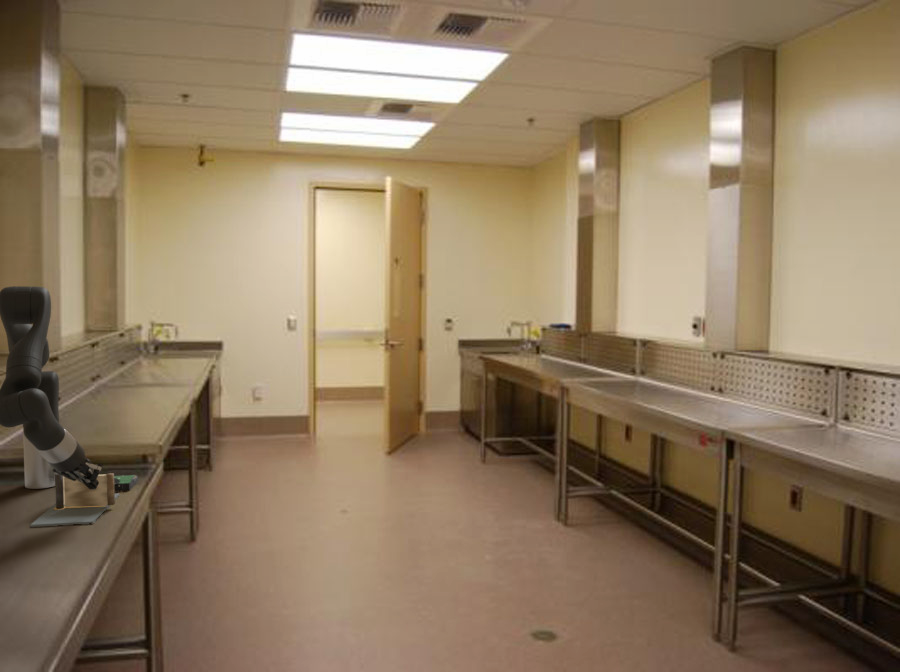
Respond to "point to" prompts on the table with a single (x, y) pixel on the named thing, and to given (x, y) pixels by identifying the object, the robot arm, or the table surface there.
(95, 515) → the board
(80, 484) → the hinged fence panel
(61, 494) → the fixed fence section
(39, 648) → the table surface
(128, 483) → the disk drive
